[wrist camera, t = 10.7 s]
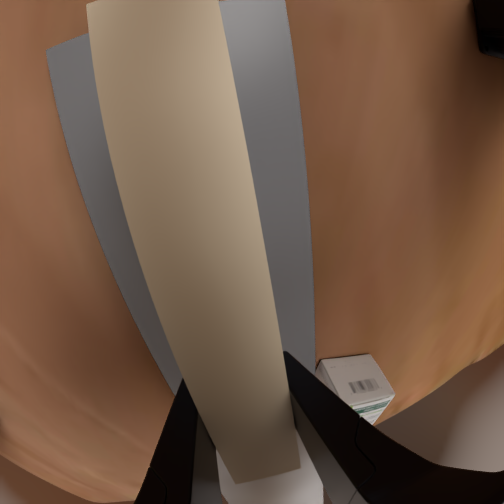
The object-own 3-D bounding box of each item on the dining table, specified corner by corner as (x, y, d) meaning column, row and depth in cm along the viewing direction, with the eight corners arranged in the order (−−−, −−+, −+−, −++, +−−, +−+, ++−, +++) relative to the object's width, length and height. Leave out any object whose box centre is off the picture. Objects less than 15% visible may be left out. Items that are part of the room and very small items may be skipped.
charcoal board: (277, 1, 13) (284, -4, 12) (310, 366, 28) (315, 376, 27) (54, 51, 12) (45, 49, 11) (181, 397, 27) (182, 408, 26)
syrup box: (398, 394, 24) (339, 467, 31) (370, 350, 29) (324, 429, 36) (343, 406, 23) (295, 477, 29) (318, 356, 28) (281, 436, 34)
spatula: (252, 14, 7) (280, -31, 4) (318, 494, 16) (331, 527, 13) (71, 56, 6) (27, 29, 4) (242, 514, 15) (250, 548, 13)
